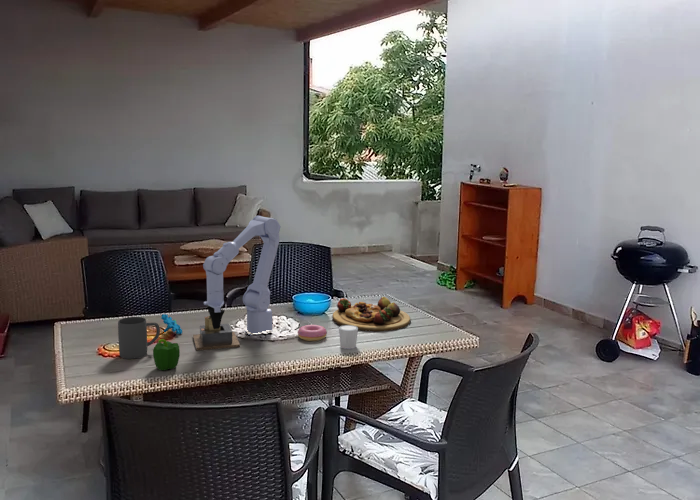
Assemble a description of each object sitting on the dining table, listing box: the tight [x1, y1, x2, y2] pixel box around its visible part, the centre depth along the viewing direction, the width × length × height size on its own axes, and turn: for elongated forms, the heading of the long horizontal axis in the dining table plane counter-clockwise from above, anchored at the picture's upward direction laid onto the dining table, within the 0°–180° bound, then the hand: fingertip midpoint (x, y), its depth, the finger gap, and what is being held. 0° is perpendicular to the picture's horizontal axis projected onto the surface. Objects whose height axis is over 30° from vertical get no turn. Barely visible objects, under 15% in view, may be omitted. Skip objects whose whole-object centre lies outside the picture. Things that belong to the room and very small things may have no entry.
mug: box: [117, 316, 161, 360], centre depth 219 cm, size 14×9×12 cm
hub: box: [192, 323, 241, 351], centre depth 233 cm, size 15×15×5 cm
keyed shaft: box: [204, 315, 221, 332], centre depth 232 cm, size 5×4×7 cm
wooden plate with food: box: [331, 296, 411, 333], centre depth 265 cm, size 32×32×8 cm
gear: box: [161, 313, 183, 335], centre depth 242 cm, size 11×6×10 cm
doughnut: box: [297, 323, 328, 342], centre depth 241 cm, size 11×11×4 cm
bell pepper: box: [152, 338, 181, 371], centre depth 207 cm, size 8×8×10 cm
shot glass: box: [338, 325, 359, 350], centre depth 232 cm, size 7×7×7 cm
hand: (215, 326), depth 233 cm, fingers closed on keyed shaft, 4 cm apart
